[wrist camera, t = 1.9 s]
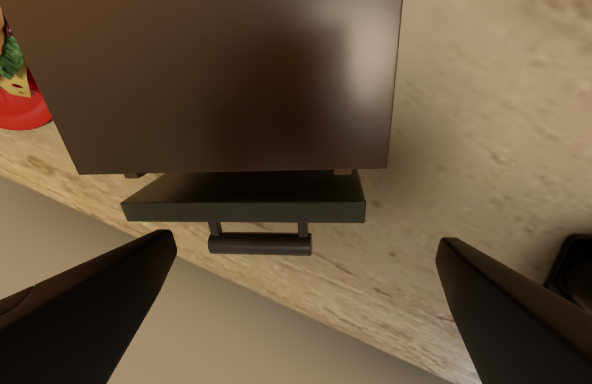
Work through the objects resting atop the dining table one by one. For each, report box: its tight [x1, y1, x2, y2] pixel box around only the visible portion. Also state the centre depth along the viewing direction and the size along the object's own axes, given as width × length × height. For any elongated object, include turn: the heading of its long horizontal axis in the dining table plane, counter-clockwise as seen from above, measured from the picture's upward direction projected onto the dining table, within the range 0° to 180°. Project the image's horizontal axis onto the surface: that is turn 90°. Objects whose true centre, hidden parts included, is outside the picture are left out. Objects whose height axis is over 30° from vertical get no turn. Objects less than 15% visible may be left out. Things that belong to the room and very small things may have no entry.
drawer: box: [120, 169, 366, 256], centre depth 13 cm, size 23×13×7 cm, turn 4°
